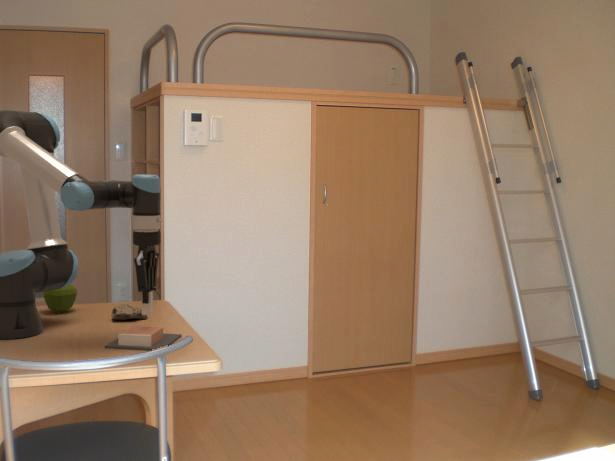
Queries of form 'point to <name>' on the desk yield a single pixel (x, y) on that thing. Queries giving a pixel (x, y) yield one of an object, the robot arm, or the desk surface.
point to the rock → (127, 312)
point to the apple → (60, 298)
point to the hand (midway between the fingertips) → (147, 314)
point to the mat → (163, 342)
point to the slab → (140, 336)
